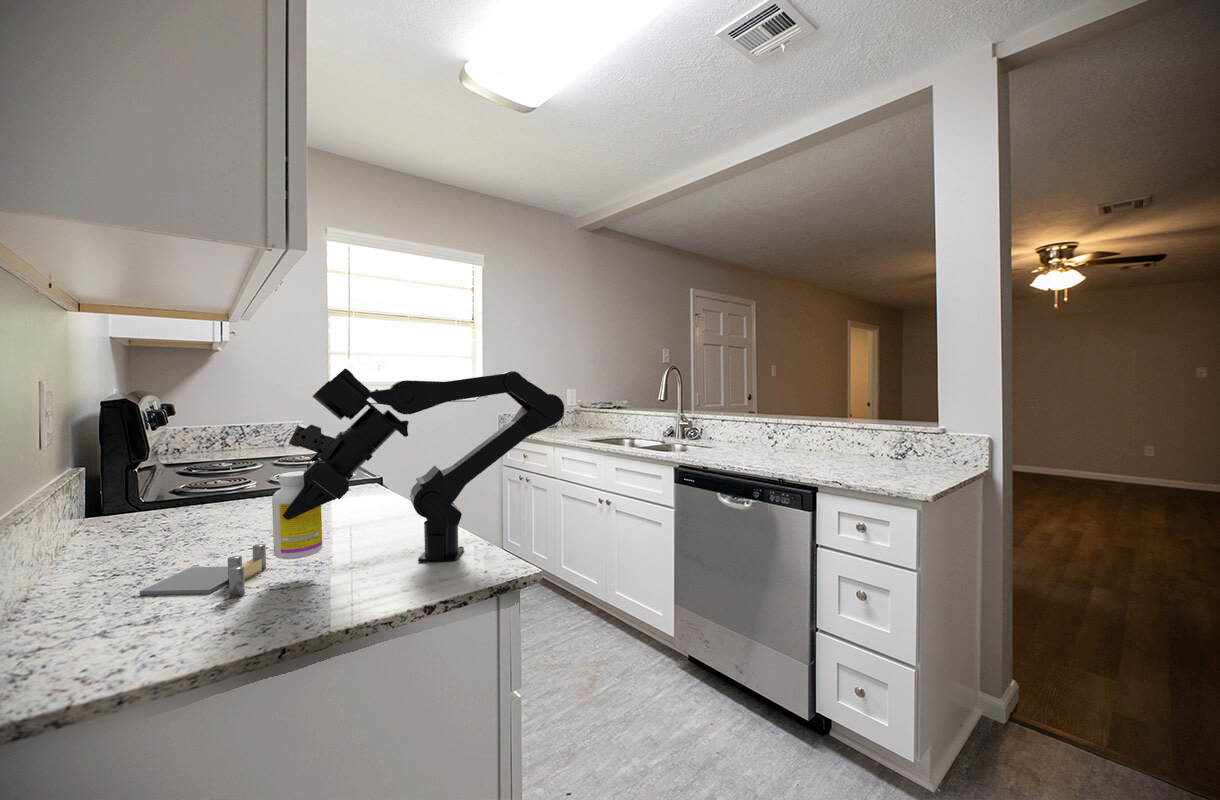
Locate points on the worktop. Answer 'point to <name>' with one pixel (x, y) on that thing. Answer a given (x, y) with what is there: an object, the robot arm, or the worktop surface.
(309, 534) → the supplement bottle
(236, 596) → the bent rail
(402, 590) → the worktop surface
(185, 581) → the slate coaster
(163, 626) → the worktop surface
